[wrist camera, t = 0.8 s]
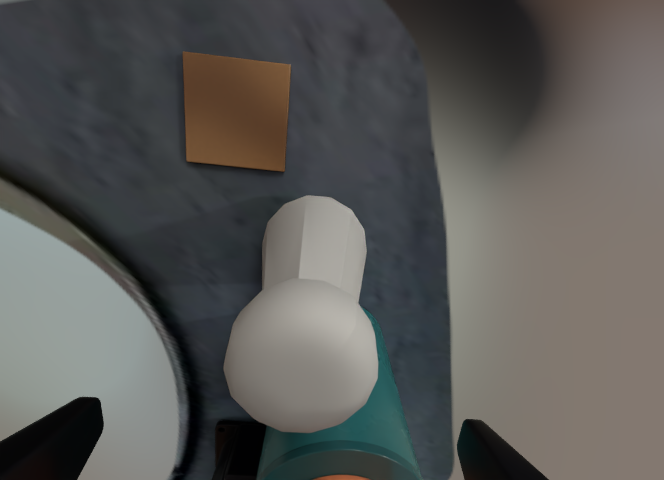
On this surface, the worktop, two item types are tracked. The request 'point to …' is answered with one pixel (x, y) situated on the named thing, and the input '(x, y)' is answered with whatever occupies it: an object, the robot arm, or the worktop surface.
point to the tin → (349, 439)
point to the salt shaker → (305, 323)
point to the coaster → (236, 111)
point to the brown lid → (341, 477)
